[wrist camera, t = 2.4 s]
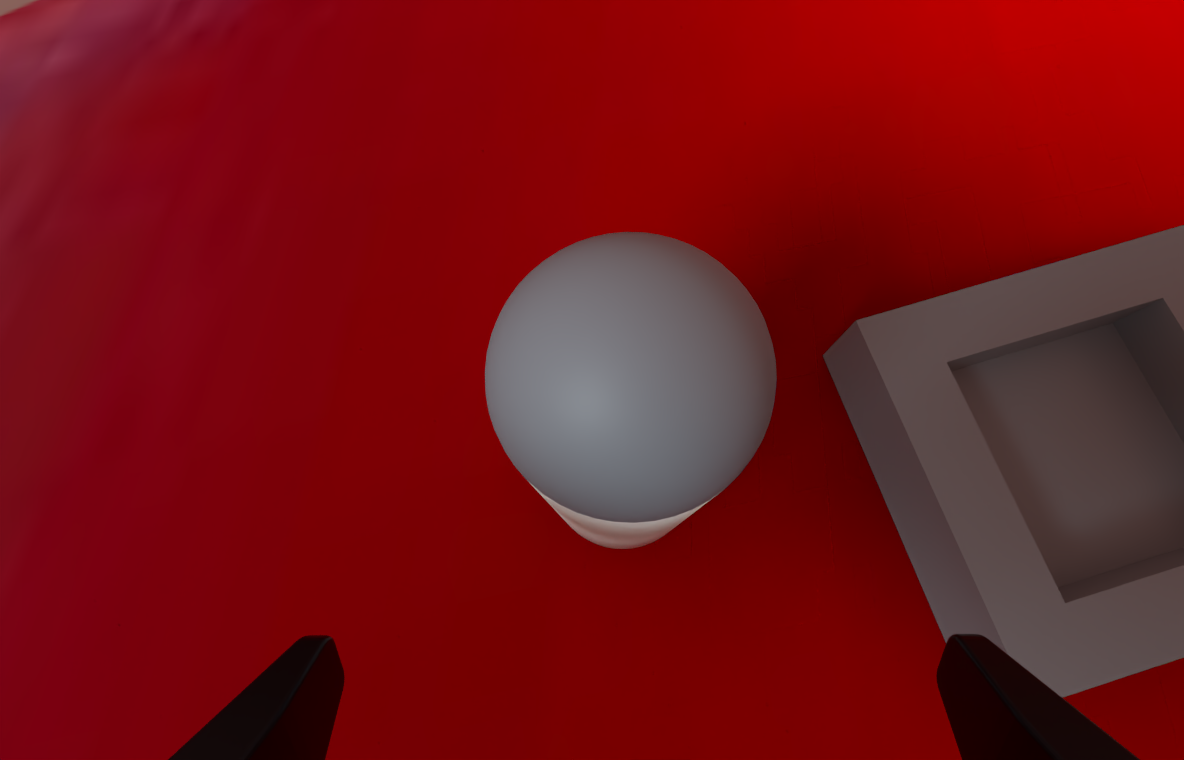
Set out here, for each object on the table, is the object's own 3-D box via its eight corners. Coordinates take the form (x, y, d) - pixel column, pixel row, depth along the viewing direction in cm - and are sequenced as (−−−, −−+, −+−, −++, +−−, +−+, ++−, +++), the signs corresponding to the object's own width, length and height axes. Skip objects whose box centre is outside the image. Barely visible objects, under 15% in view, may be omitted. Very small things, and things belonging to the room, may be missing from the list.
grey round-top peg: (713, 524, 21) (876, 443, 8) (572, 567, 20) (500, 557, 8) (667, 389, 22) (740, 132, 9) (534, 428, 22) (419, 219, 9)
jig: (1294, 578, 19) (1420, 578, 16) (964, 686, 19) (1031, 707, 16) (1109, 271, 23) (1186, 224, 20) (822, 355, 22) (856, 320, 19)
